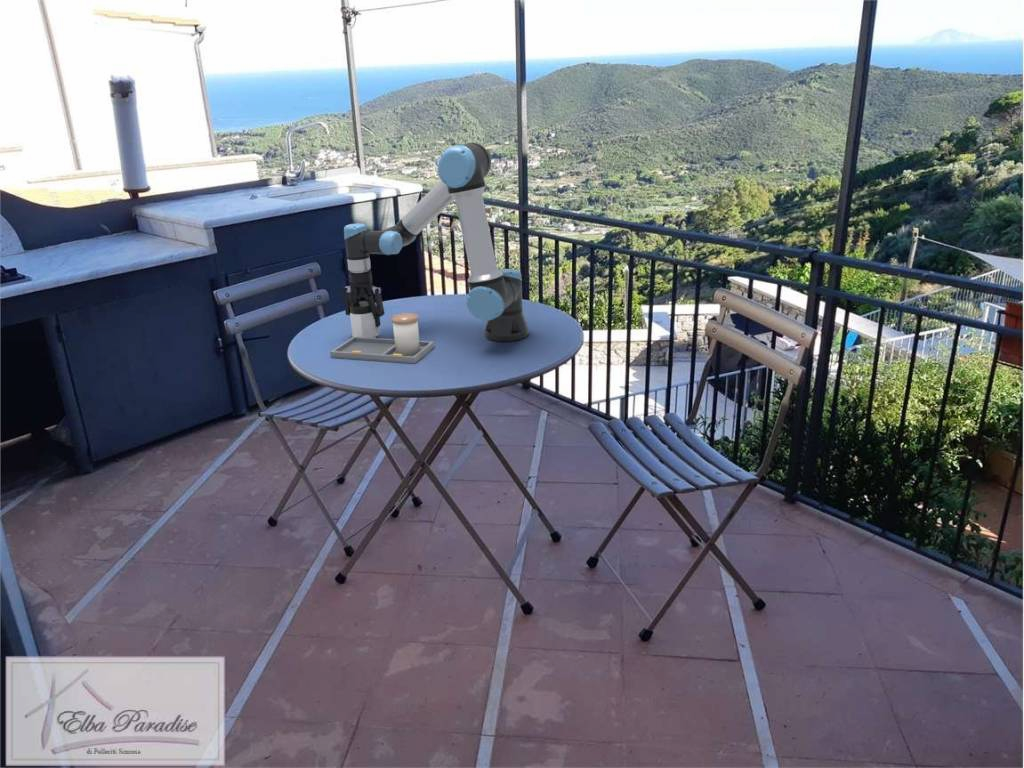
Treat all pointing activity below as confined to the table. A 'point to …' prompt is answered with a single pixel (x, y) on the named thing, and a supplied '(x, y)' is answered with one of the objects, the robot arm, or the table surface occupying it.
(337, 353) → the divided grey tray
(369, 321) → the jar
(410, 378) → the table surface
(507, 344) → the table surface
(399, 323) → the white jar with lid
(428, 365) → the table surface
